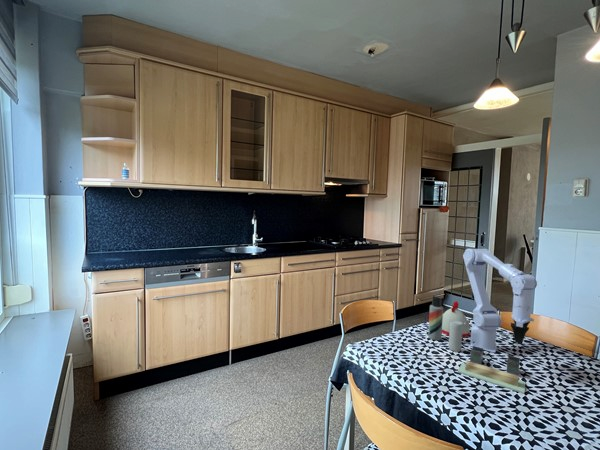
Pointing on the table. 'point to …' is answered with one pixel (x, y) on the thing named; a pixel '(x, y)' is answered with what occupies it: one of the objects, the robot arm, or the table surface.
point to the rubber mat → (493, 380)
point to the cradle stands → (511, 361)
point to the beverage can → (455, 336)
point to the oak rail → (492, 373)
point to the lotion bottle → (435, 319)
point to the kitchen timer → (455, 315)
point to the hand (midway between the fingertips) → (519, 339)
